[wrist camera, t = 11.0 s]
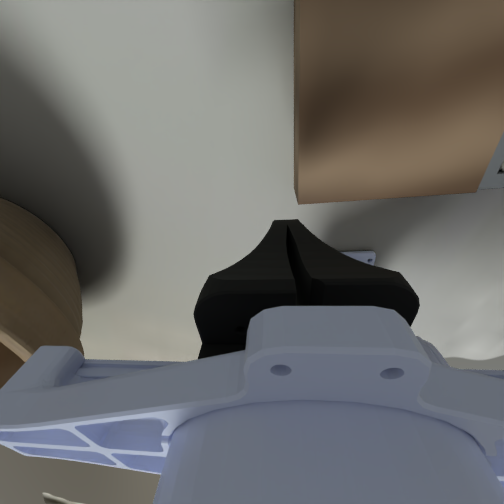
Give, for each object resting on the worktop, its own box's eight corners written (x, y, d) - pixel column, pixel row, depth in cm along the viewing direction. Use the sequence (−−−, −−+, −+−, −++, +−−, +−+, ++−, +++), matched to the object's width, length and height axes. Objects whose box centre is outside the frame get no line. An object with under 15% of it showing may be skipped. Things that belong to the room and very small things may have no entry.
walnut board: (439, 176, 18) (476, 192, 15) (293, 188, 20) (298, 204, 17) (518, -49, 12) (612, -108, 9) (294, -7, 13) (300, -45, 10)
